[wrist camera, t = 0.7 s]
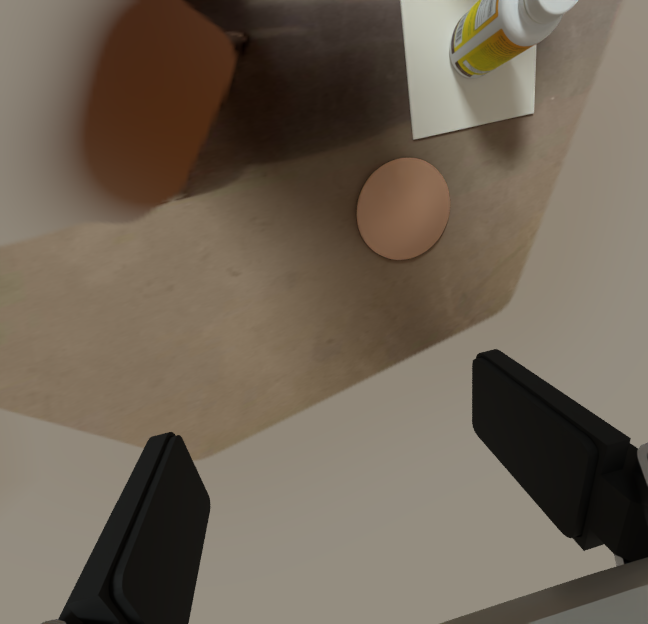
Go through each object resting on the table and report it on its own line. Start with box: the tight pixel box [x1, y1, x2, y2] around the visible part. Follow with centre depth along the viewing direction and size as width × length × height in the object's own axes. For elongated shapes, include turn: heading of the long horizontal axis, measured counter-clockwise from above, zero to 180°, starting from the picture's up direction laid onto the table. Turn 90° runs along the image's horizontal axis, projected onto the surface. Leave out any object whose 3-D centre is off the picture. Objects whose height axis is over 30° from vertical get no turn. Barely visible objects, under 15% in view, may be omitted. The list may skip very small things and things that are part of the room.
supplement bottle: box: [450, 0, 578, 78], centre depth 26 cm, size 6×6×10 cm
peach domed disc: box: [356, 158, 450, 260], centre depth 35 cm, size 11×11×1 cm
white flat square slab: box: [400, 0, 536, 140], centre depth 31 cm, size 14×14×1 cm
